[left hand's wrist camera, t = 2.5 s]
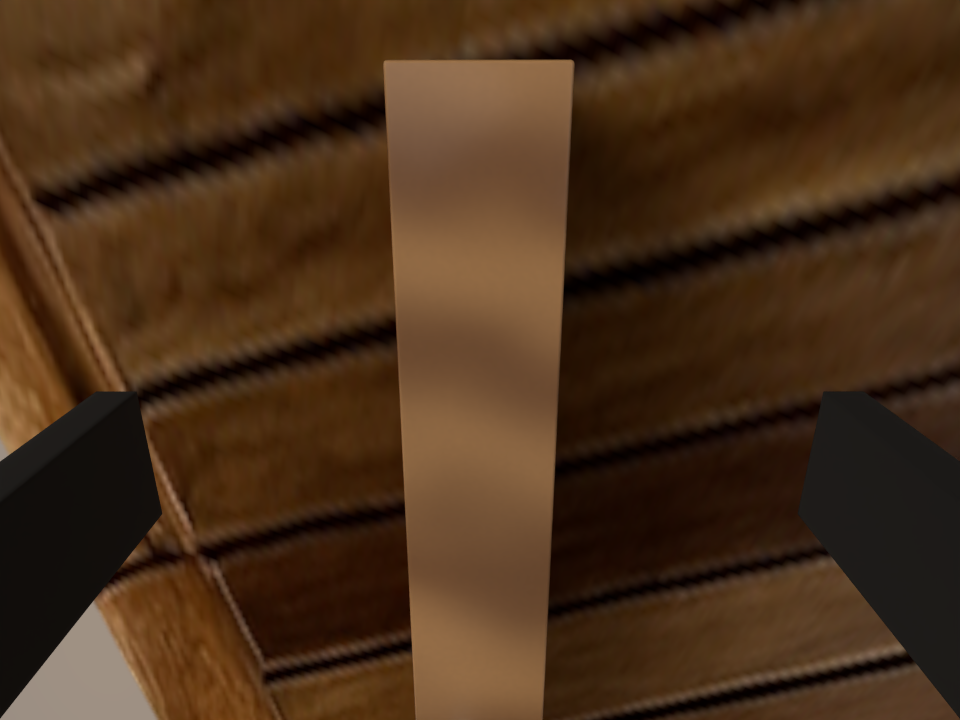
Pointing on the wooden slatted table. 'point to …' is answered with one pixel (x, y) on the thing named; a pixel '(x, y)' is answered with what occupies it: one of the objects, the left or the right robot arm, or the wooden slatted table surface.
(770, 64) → the wooden slatted table surface
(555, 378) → the post
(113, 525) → the left robot arm
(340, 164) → the wooden slatted table surface
